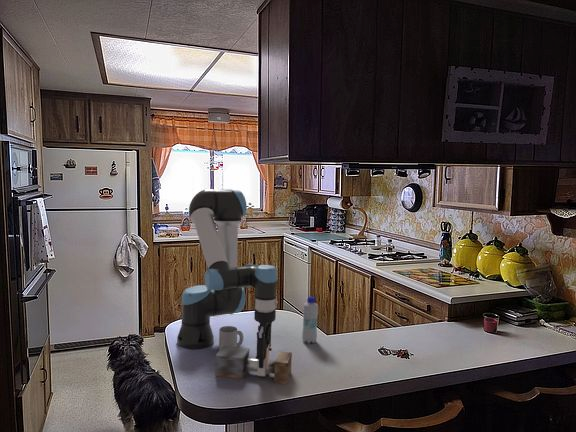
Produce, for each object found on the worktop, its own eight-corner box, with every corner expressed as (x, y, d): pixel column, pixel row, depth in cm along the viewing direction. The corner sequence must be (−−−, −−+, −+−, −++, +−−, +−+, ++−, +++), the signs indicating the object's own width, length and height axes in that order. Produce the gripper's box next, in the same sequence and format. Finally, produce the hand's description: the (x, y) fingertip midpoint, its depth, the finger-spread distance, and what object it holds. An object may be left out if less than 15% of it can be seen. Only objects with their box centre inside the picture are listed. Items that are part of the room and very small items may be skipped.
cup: (217, 347, 178) (217, 327, 177) (241, 345, 181) (241, 324, 180) (220, 355, 171) (221, 333, 170) (245, 352, 174) (246, 330, 173)
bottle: (317, 339, 191) (319, 295, 189) (316, 345, 184) (318, 299, 182) (302, 338, 191) (303, 294, 189) (301, 344, 185) (302, 298, 183)
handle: (229, 371, 155) (229, 344, 154) (233, 365, 160) (233, 339, 159) (278, 376, 152) (279, 350, 151) (280, 370, 157) (281, 344, 156)
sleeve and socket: (215, 375, 154) (215, 355, 153) (223, 364, 163) (223, 345, 162) (286, 384, 149) (287, 363, 149) (291, 372, 158) (291, 352, 157)
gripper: (270, 318, 143) (267, 385, 146) (280, 302, 161) (278, 362, 163) (248, 316, 145) (246, 382, 147) (260, 300, 162) (259, 360, 165)
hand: (263, 371), depth 155 cm, fingers closed on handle, 5 cm apart
